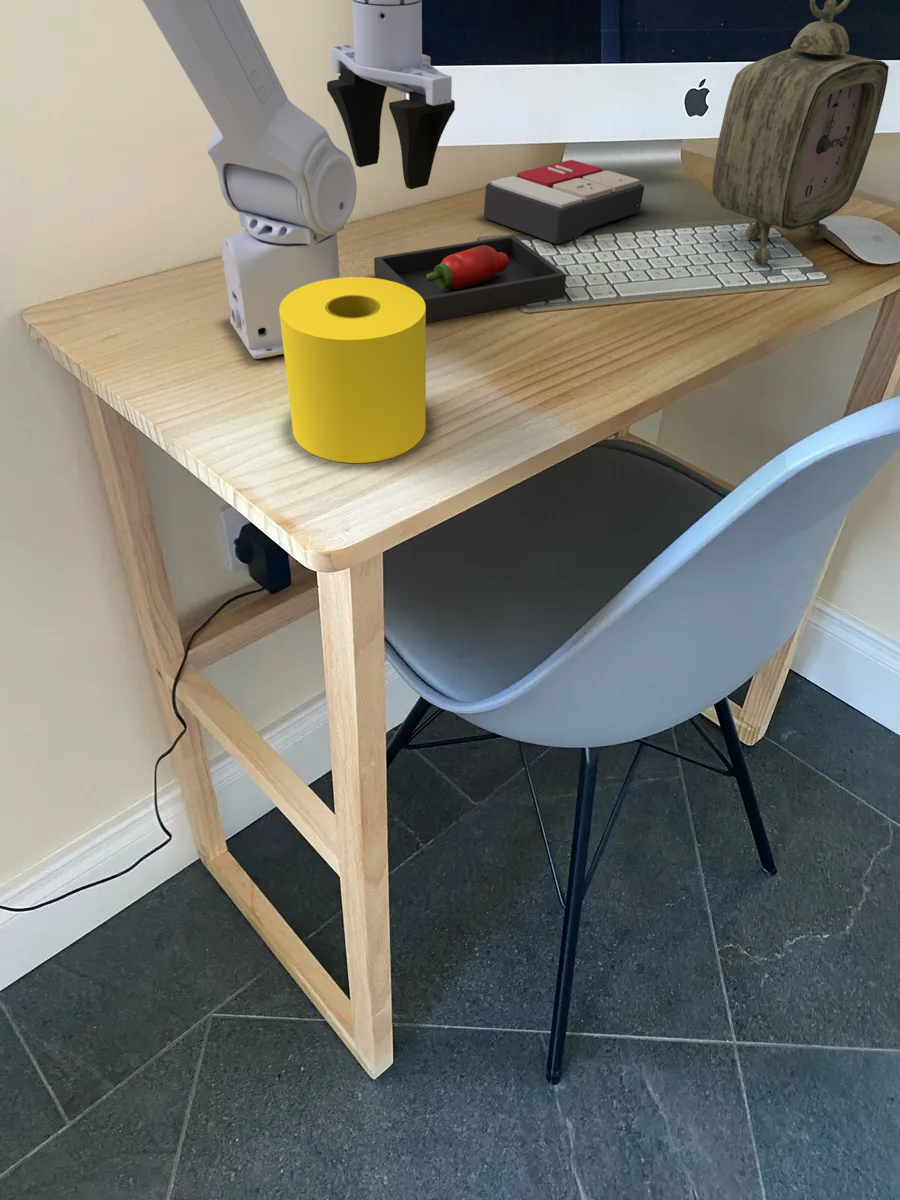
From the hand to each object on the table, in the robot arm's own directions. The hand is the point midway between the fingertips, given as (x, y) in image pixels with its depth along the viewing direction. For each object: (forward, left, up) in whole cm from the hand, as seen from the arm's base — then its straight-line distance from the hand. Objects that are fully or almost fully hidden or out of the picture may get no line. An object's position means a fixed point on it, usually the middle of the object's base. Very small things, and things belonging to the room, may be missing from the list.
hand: (391, 175), depth 83 cm
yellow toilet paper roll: (-13, -25, -10) cm, 30 cm away
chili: (+6, -5, -9) cm, 12 cm away
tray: (+6, -6, -9) cm, 12 cm away
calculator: (+24, +8, -10) cm, 27 cm away
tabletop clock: (+40, -8, -10) cm, 42 cm away
